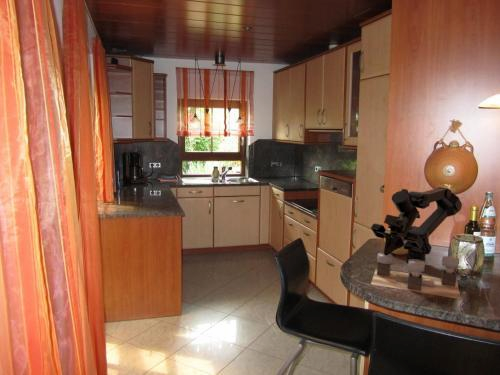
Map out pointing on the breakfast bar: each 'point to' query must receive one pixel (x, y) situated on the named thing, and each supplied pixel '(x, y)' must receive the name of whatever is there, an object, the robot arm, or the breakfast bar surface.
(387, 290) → the breakfast bar surface
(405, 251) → the sculpture
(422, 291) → the button panel
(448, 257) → the button
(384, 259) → the button
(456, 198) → the robot arm
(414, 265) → the far button
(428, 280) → the pattern card
